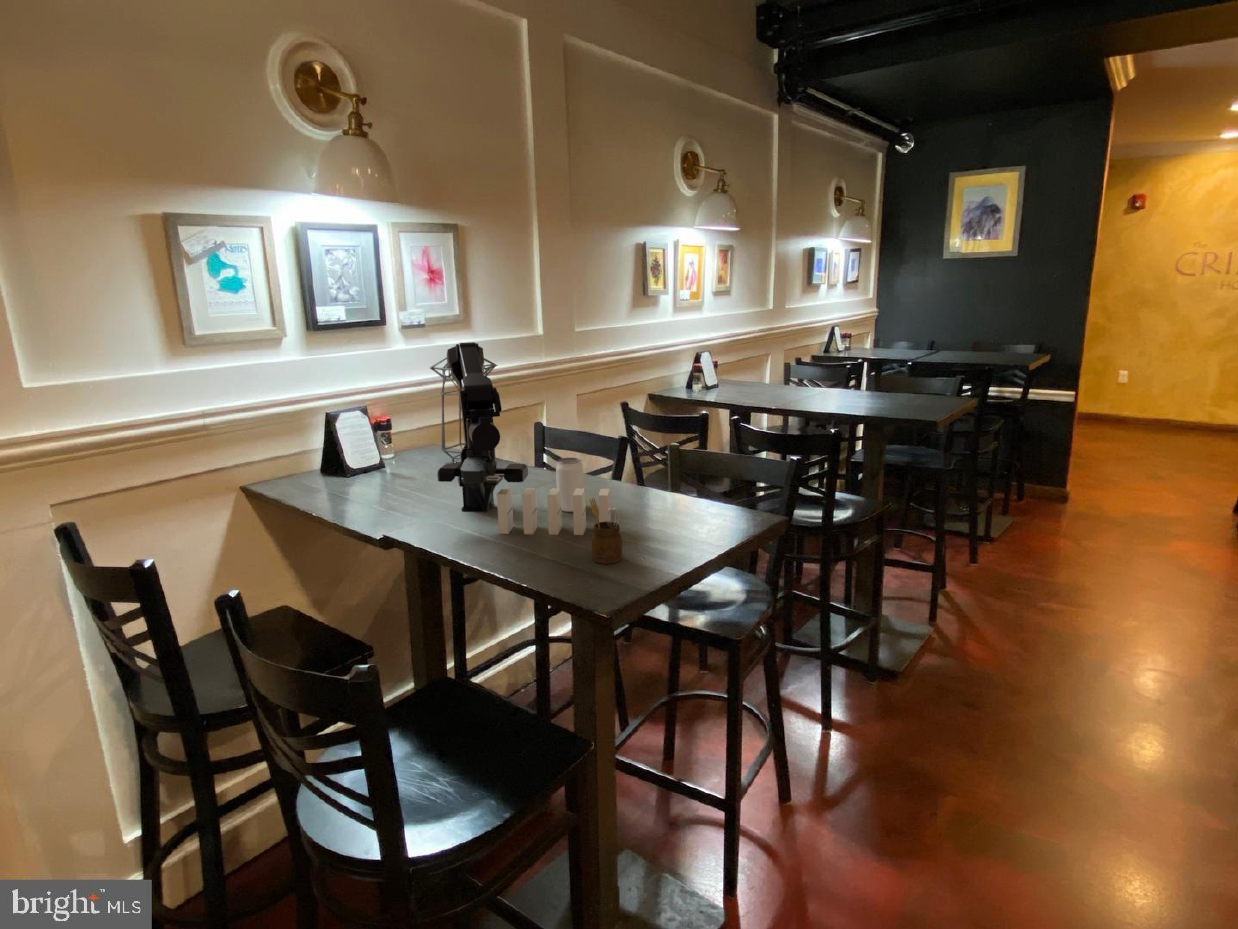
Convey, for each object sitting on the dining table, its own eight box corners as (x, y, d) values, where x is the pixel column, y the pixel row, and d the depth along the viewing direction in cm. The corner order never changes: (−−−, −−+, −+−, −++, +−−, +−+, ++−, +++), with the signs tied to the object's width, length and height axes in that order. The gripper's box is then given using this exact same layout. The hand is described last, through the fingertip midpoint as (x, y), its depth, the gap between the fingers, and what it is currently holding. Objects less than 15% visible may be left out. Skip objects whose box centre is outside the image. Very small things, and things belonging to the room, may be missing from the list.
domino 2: (523, 534, 155) (521, 494, 153) (528, 526, 160) (526, 488, 158) (533, 534, 155) (531, 494, 153) (537, 526, 160) (536, 488, 157)
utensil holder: (612, 567, 136) (610, 507, 133) (584, 560, 139) (583, 502, 136) (628, 557, 141) (627, 499, 138) (601, 551, 144) (600, 494, 141)
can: (580, 513, 168) (578, 464, 165) (554, 511, 170) (552, 463, 167) (587, 505, 175) (585, 457, 172) (561, 503, 176) (559, 456, 173)
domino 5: (598, 535, 154) (598, 495, 151) (601, 527, 158) (600, 488, 156) (608, 535, 153) (607, 495, 151) (610, 527, 158) (610, 488, 156)
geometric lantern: (433, 467, 214) (424, 349, 206) (464, 456, 228) (456, 346, 221) (477, 470, 208) (470, 349, 200) (506, 459, 222) (499, 346, 215)
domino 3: (548, 534, 154) (546, 494, 152) (552, 526, 159) (551, 488, 157) (558, 534, 154) (556, 494, 152) (562, 526, 159) (560, 488, 157)
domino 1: (498, 533, 155) (496, 494, 153) (504, 526, 160) (502, 487, 158) (508, 534, 155) (506, 494, 153) (513, 526, 160) (511, 487, 158)
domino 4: (573, 534, 154) (572, 495, 152) (577, 527, 159) (575, 488, 157) (583, 535, 154) (582, 495, 152) (586, 527, 159) (585, 488, 156)
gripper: (425, 449, 146) (431, 521, 150) (514, 449, 145) (518, 522, 148) (443, 438, 157) (448, 505, 161) (526, 438, 155) (530, 506, 159)
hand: (485, 510), depth 157 cm, fingers closed
